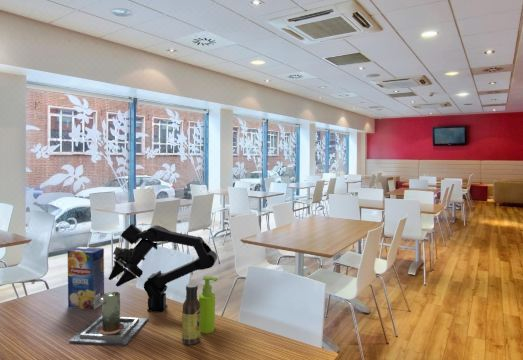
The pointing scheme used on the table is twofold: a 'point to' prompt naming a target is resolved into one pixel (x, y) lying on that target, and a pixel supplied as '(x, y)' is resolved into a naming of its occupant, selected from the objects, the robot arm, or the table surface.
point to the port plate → (116, 338)
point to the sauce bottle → (191, 316)
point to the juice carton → (85, 277)
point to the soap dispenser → (207, 307)
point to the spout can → (110, 311)
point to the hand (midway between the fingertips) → (112, 282)
